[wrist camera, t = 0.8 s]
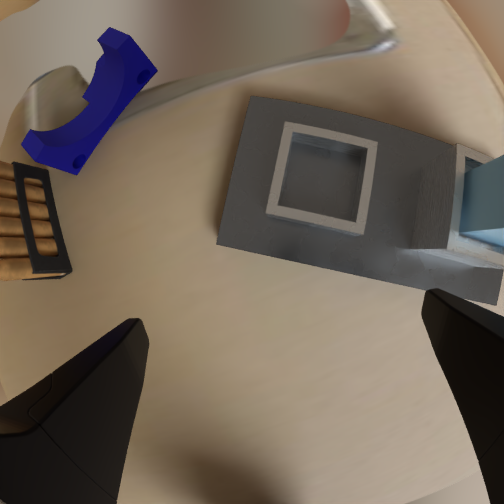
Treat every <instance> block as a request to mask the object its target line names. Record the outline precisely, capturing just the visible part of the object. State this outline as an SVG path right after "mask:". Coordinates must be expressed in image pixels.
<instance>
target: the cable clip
mask: <svg viewBox="0 0 504 504" xmlns="http://www.w3.org/2000/svg"><path fill="white" fill-rule="evenodd" d="M97 41H98V42H99V43H100V45H101V46H102V49H103V51H104V54H103V55H102V56H101V58H99V60H98V61H97V63H96V69H95V73H94V76H93V78H92V81H91V83H90V85H89V87H88V89H87V90H86V92H85V93H84V95H83V96H82V97H83V98H84V99H85V100H87V101H88V102H89V104H88V106H87V107H86V108H85V109H84V110H83V111H82V112H81V113H80V114H79V115H78V116H77V117H76V118H74V119H73V120H72V121H70V122H69V123H67V124H65V125H64V126H62V127H59V128H57V129H54V130H50V131H34V130H31V129H30V130H29V132H28V133H27V135H26V137H25V138H24V140H23V142H22V144H21V145H22V147H23V148H24V149H25V150H26V151H27V153H28V154H29V155H30V156H31V157H32V159H33V160H34V161H35V162H38V163H41V164H44V165H47V166H50V167H53V168H56V169H59V170H62V171H65V172H68V173H71V174H74V175H78V173H79V171H80V170H81V168H82V167H83V165H84V164H85V162H86V161H87V159H88V158H89V156H90V155H91V153H92V152H93V150H94V149H95V148H96V146H97V145H98V143H99V142H100V140H101V139H102V138H103V136H104V135H105V134H106V132H107V131H108V129H109V128H110V127H111V125H112V124H113V123H114V121H115V120H116V119H117V118H118V116H119V115H120V114H121V112H122V111H123V110H124V109H125V107H126V106H127V105H128V104H129V102H130V101H131V100H132V99H133V98H134V96H135V95H136V94H137V93H138V92H139V91H141V90H142V89H143V87H144V86H145V85H146V84H147V83H148V82H149V81H150V79H151V78H152V77H153V76H154V75H155V74H156V73H157V72H158V70H157V69H156V67H155V66H154V65H153V64H152V62H151V61H150V60H149V59H148V57H147V56H146V55H145V54H144V52H143V51H142V50H141V49H140V48H139V46H138V45H137V44H136V42H135V41H134V40H133V39H132V37H131V36H130V35H127V34H125V33H123V32H120V31H118V30H116V29H113V28H111V27H109V28H108V29H107V30H106V31H105V32H104V33H103V34H102V35H101V37H100V38H99V39H98V40H97Z"/></svg>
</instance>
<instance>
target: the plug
mask: <svg viewBox="0 0 504 504" xmlns="http://www.w3.org/2000/svg"><path fill="white" fill-rule="evenodd" d="M459 235H462V236H466V237H469V238H472V239H475V240H478V241H481V242H484V243H487V244H490V245H493V246H496V247H504V155H502V156H500V157H498V158H496V159H494V160H492V161H490V162H487V163H485V164H483V165H481V166H479V167H477V168H474V169H472V170H470V171H468V172H466V173H464V188H463V200H462V210H461V218H460V226H459Z"/></svg>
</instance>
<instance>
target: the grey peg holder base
mask: <svg viewBox="0 0 504 504" xmlns="http://www.w3.org/2000/svg"><path fill="white" fill-rule="evenodd" d="M492 160H494V159H493V158H491V157H489V156H487V155H484V154H482V153H480V152H478V151H475V150H473V149H470V148H468V147H466V146H463V145H461V144H458V143H456V144H455V145H450V144H447V143H445V142H442V141H439V140H436V139H434V138H431V137H428V136H425V135H422V134H419V133H416V132H413V131H410V130H407V129H403V128H400V127H397V126H394V125H390V124H387V123H383V122H380V121H376V120H372V119H369V118H365V117H361V116H357V115H353V114H349V113H345V112H340V111H336V110H331V109H327V108H322V107H317V106H312V105H307V104H301V103H296V102H290V101H284V100H278V99H271V98H264V97H257V96H251V97H250V101H249V105H248V109H247V113H246V117H245V121H244V125H243V129H242V133H241V137H240V141H239V145H238V150H237V154H236V158H235V162H234V166H233V171H232V175H231V179H230V184H229V188H228V193H227V197H226V201H225V206H224V210H223V215H222V219H221V224H220V229H219V233H218V238H217V243H216V245H221V246H226V247H230V248H235V249H239V250H244V251H248V252H253V253H257V254H262V255H267V256H271V257H276V258H280V259H285V260H289V261H294V262H299V263H303V264H308V265H312V266H317V267H321V268H326V269H331V270H335V271H340V272H344V273H349V274H353V275H358V276H362V277H367V278H372V279H376V280H381V281H385V282H390V283H394V284H399V285H404V286H408V287H413V288H417V289H422V290H426V291H427V290H428V289H434V288H439V289H441V290H444V291H446V292H448V293H451V294H453V295H455V296H458V297H460V298H463V299H468V300H472V301H477V302H481V303H486V304H491V305H495V306H496V305H497V300H498V296H499V291H500V287H501V281H502V276H503V271H504V247H496V246H493V245H490V244H487V243H484V242H481V241H478V240H475V239H472V238H469V237H466V236H462V235H459V226H460V218H461V210H462V200H463V188H464V173H466V172H468V171H470V170H472V169H474V168H477V167H479V166H481V165H483V164H485V163H487V162H490V161H492Z"/></svg>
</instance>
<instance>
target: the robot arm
mask: <svg viewBox="0 0 504 504" xmlns="http://www.w3.org/2000/svg"><path fill="white" fill-rule="evenodd" d="M421 315H422V319H423V322H424V325H425V327H426V330H427V333H428V335H429V338H430V341H431V344H432V347H433V350H434V352H435V355H436V357H437V359H438V362H439V364H440V366H441V368H442V370H443V372H444V375H445V377H446V379H447V381H448V384H449V386H450V388H451V391H452V393H453V395H454V398H455V400H456V402H457V405H458V407H459V410H460V412H461V415H462V417H463V420H464V423H465V425H466V428H467V431H468V433H469V436H470V439H471V441H472V444H473V447H474V450H475V453H476V456H477V459H478V461H479V462H478V463H479V466H480V469H481V472H482V475H483V479H484V482H485V485H486V489H487V492H488V496H489V500H490V504H504V317H503V316H501V315H499V314H496V313H494V312H492V311H490V310H487V309H485V308H483V307H481V306H478V305H476V304H474V303H472V302H469V301H467V300H465V299H462V298H460V297H458V296H455V295H453V294H451V293H448V292H446V291H444V290H441V289H439V288H434V289H428V290H427V291H426V292H425V296H424V301H423V306H422V311H421ZM148 349H149V339H148V336H147V333H146V330H145V327H144V325H143V322H142V320H141V319H139V318H129V319H127V320H125V321H124V322H122V323H121V324H120V325H118V326H117V327H115V328H114V329H112V330H111V331H110V332H108V333H107V334H105V335H104V336H103V337H101V338H100V339H98V340H97V341H95V342H94V343H93V344H91V345H90V346H88V347H87V348H86V349H84V350H83V351H81V352H80V353H79V354H77V355H76V356H74V357H73V358H72V359H70V360H69V361H67V362H66V363H65V364H63V365H62V366H60V367H59V368H58V369H56V370H55V371H53V373H50V374H49V375H48V376H46V377H45V378H44V379H42V380H41V381H39V382H38V383H36V384H35V385H34V386H32V387H31V388H29V389H27V390H26V391H24V392H23V393H21V394H19V395H18V396H16V397H15V398H13V399H11V400H10V401H8V402H7V403H5V404H3V405H2V406H0V504H117V498H118V493H119V488H120V483H121V478H122V473H123V468H124V463H125V458H126V454H127V449H128V445H129V440H130V436H131V432H132V428H133V423H134V419H135V415H136V411H137V407H138V403H139V399H140V395H141V392H142V387H143V382H144V376H145V369H146V362H147V356H148Z"/></svg>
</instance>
